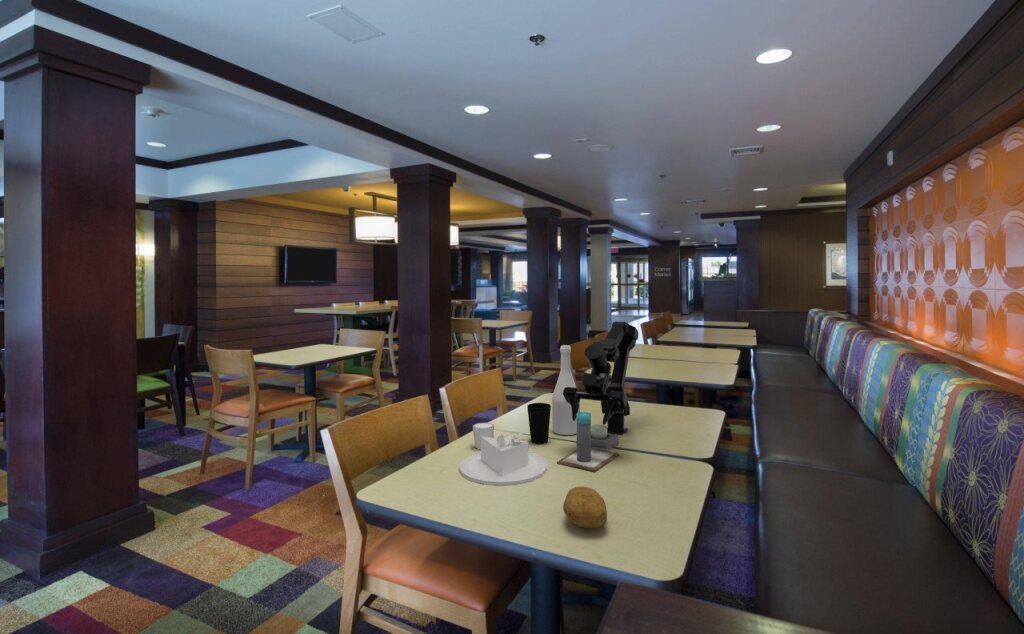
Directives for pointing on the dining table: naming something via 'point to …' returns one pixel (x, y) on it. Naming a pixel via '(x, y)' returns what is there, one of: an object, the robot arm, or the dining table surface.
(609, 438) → the button housing
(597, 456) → the clipboard
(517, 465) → the dish
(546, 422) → the cup
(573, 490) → the potato
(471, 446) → the dining table surface
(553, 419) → the wine bottle
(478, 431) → the shot glass
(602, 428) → the button
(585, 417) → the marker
